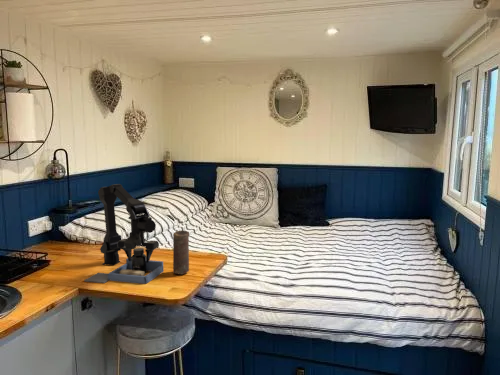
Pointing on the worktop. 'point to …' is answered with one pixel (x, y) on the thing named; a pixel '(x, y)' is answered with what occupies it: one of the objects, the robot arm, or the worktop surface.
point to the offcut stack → (132, 272)
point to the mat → (98, 278)
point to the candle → (181, 252)
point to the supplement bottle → (139, 260)
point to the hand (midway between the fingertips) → (138, 261)
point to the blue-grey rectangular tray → (151, 266)
